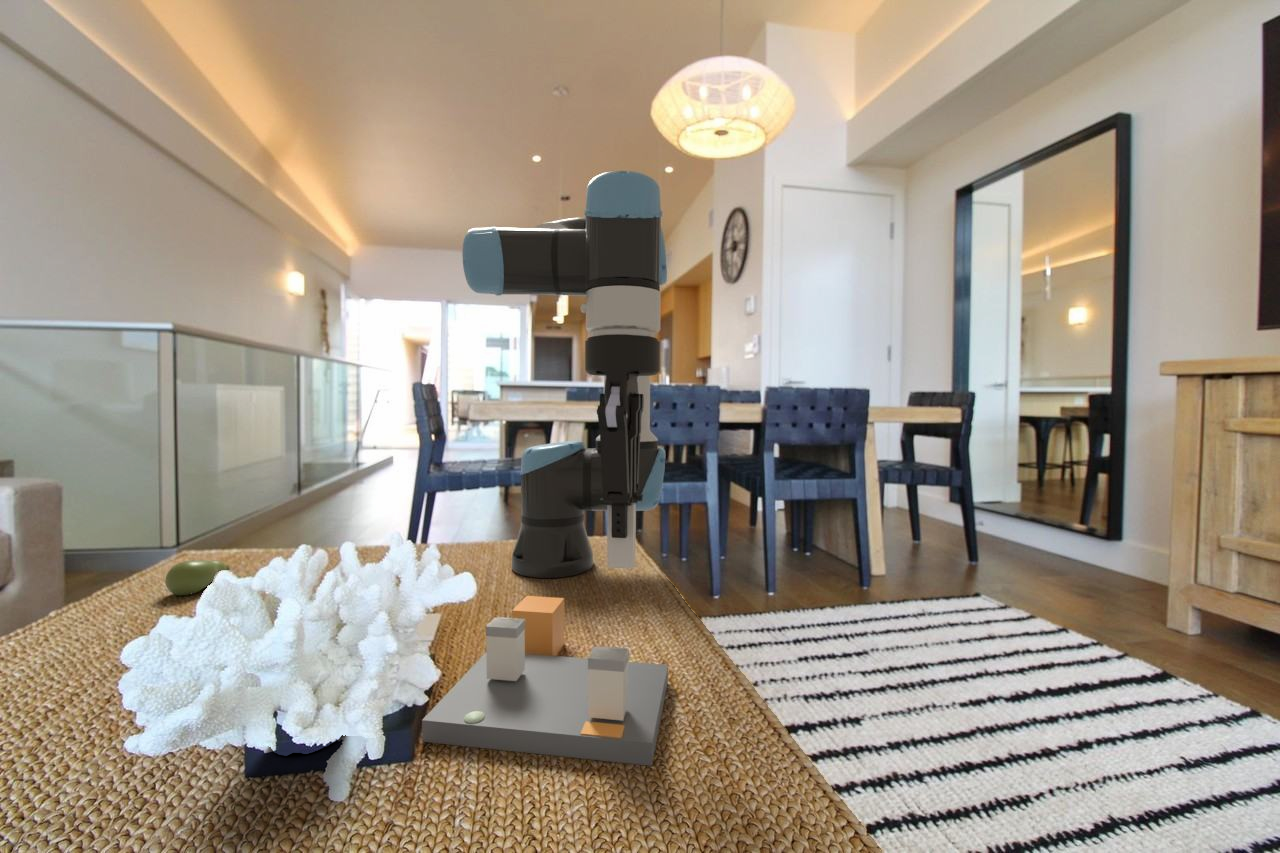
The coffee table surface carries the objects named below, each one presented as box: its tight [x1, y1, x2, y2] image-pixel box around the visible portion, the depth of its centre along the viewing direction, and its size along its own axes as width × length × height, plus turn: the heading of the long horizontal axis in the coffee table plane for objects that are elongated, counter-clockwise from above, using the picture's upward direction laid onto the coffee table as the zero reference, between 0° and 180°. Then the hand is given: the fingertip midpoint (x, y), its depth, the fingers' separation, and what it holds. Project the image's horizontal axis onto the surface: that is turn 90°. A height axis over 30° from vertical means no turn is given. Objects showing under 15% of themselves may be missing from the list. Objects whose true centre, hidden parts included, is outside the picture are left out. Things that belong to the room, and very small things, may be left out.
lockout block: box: [511, 595, 565, 656], centre depth 67 cm, size 5×5×6 cm
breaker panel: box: [421, 652, 669, 767], centre depth 55 cm, size 14×21×2 cm, turn 82°
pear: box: [164, 559, 230, 596], centre depth 89 cm, size 6×5×10 cm
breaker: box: [485, 616, 525, 681], centre depth 57 cm, size 2×3×6 cm
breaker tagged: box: [587, 645, 630, 721], centre depth 50 cm, size 2×3×6 cm
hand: (621, 565), depth 56 cm, fingers closed
